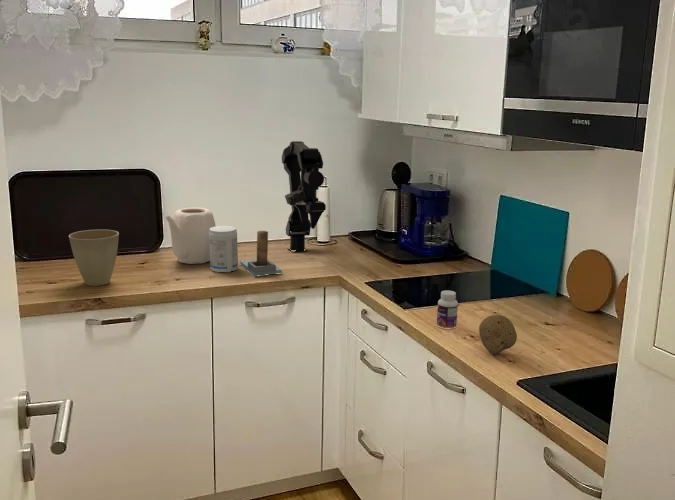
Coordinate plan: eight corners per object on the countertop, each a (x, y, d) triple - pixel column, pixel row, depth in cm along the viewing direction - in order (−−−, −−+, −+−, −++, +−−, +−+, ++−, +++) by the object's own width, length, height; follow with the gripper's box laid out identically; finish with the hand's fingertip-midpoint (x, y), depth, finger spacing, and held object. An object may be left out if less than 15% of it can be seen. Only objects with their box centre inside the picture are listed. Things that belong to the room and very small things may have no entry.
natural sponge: (506, 346, 173) (510, 309, 171) (521, 360, 165) (524, 321, 162) (472, 347, 172) (475, 310, 169) (485, 361, 163) (488, 322, 161)
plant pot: (121, 275, 228) (118, 228, 224) (121, 287, 214) (119, 238, 210) (73, 277, 223) (69, 230, 219) (70, 291, 209) (67, 240, 205)
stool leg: (256, 267, 234) (257, 230, 231) (266, 267, 235) (267, 230, 232) (256, 270, 231) (257, 233, 228) (267, 270, 231) (268, 233, 228)
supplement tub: (229, 264, 243) (228, 224, 240) (243, 270, 236) (242, 229, 233) (204, 268, 237) (203, 227, 234) (218, 275, 230) (217, 232, 227)
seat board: (240, 265, 243) (240, 255, 242) (267, 262, 247) (267, 253, 246) (254, 277, 228) (254, 267, 228) (282, 274, 232) (282, 264, 232)
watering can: (150, 267, 238) (148, 214, 233) (197, 251, 261) (196, 202, 257) (186, 273, 231) (184, 218, 227) (231, 256, 255) (230, 206, 250)
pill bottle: (432, 324, 188) (434, 290, 185) (449, 322, 190) (451, 288, 187) (443, 331, 183) (445, 296, 181) (460, 328, 185) (462, 294, 183)
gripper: (278, 180, 250) (278, 222, 253) (296, 188, 233) (296, 232, 237) (307, 179, 254) (306, 220, 258) (326, 186, 238) (325, 230, 241)
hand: (308, 226), depth 248 cm, fingers open, 9 cm apart
